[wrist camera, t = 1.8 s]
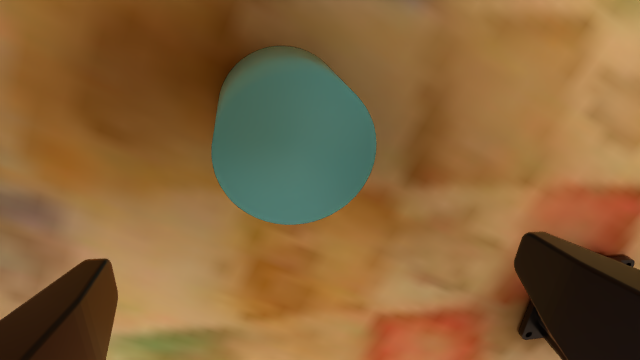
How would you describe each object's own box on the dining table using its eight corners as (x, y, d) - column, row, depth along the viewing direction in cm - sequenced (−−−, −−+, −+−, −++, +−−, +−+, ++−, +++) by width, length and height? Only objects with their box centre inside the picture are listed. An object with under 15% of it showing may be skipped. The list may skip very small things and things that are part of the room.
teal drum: (338, 166, 20) (367, 220, 15) (221, 168, 19) (216, 228, 14) (348, 47, 17) (386, 72, 13) (214, 43, 16) (205, 69, 12)
